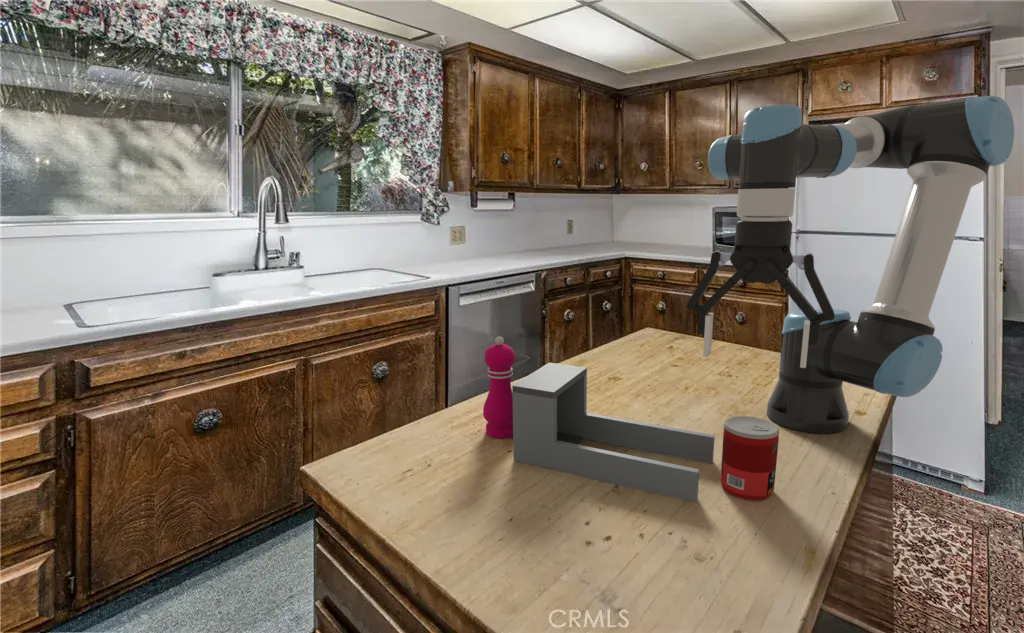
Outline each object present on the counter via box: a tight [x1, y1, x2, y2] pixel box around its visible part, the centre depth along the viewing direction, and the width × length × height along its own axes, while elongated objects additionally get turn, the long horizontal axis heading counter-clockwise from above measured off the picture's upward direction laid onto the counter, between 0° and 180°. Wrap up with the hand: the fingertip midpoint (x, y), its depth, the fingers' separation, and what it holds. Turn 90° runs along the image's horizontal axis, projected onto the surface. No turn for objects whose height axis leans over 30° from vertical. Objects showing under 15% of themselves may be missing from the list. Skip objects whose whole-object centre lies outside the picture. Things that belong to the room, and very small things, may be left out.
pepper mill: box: [482, 336, 516, 440], centre depth 112 cm, size 7×7×20 cm
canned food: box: [720, 415, 780, 501], centre depth 90 cm, size 8×8×11 cm
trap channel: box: [511, 362, 716, 503], centre depth 100 cm, size 32×15×14 cm, turn 62°
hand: (753, 359), depth 87 cm, fingers open, 13 cm apart
